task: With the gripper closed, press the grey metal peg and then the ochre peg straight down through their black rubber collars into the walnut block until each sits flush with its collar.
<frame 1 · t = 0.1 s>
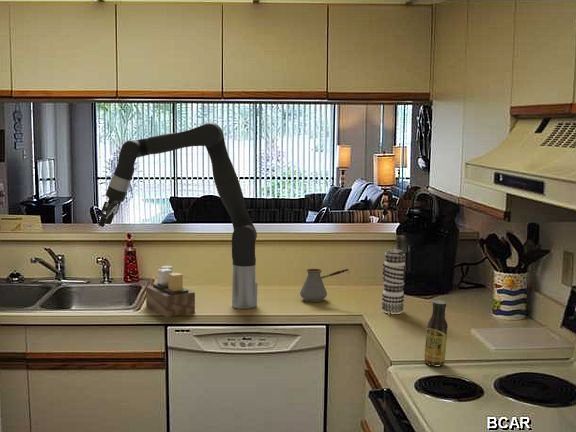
hand: (104, 224, 268), 31 cm above the countertop, tool tilted 20°, fingers open, 8 cm apart
ochre peg: (175, 284, 257), point 11 cm above the countertop, slide at 0.0 cm
walnut block: (170, 309, 262), on the countertop
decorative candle: (392, 312, 266), on the countertop
grey metal peg: (165, 279, 264), point 11 cm above the countertop, slide at 0.0 cm
sauce bottle: (434, 364, 207), on the countertop
supplement bottle: (167, 297, 282), on the countertop
coffee pot: (324, 302, 280), on the countertop
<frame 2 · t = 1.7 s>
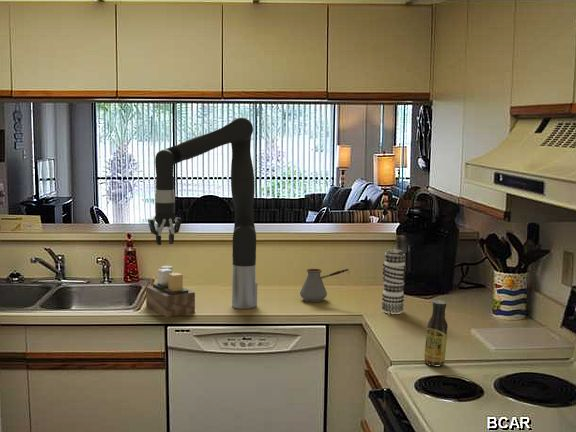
hand: (165, 244, 262), 25 cm above the countertop, tool pointing down, fingers open, 4 cm apart
nothing on the countertop moved.
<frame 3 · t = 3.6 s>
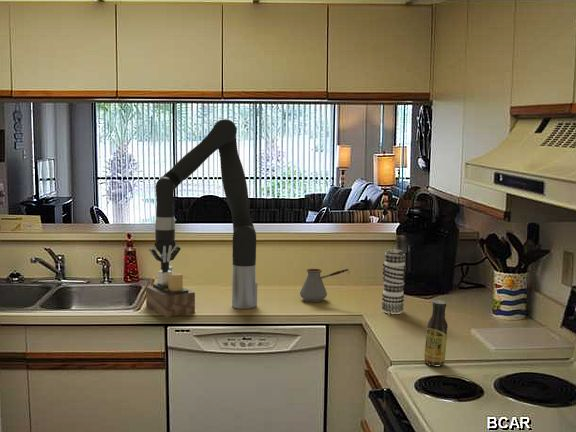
hand: (165, 271, 263), 14 cm above the countertop, tool pointing down, fingers closed
grey metal peg: (165, 281, 264), point 10 cm above the countertop, slide at 0.6 cm, touching gripper
everything else where it was.
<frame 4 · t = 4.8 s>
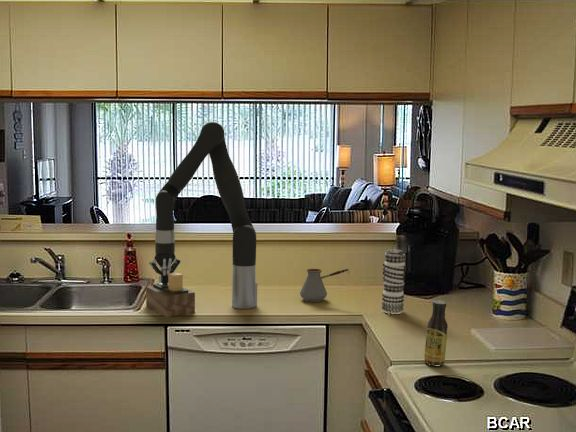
hand: (165, 284, 264), 9 cm above the countertop, tool pointing down, fingers closed
grey metal peg: (165, 294, 265), point 5 cm above the countertop, slide at 5.7 cm, touching gripper
everything else where it was.
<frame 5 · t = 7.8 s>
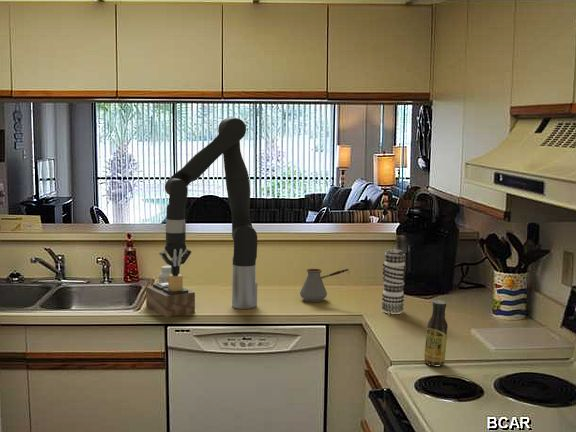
hand: (175, 275, 256), 15 cm above the countertop, tool pointing down, fingers closed
ochre peg: (175, 285, 257), point 11 cm above the countertop, slide at 0.5 cm, touching gripper
grey metal peg: (165, 294, 265), point 5 cm above the countertop, slide at 5.8 cm
everything else where it was.
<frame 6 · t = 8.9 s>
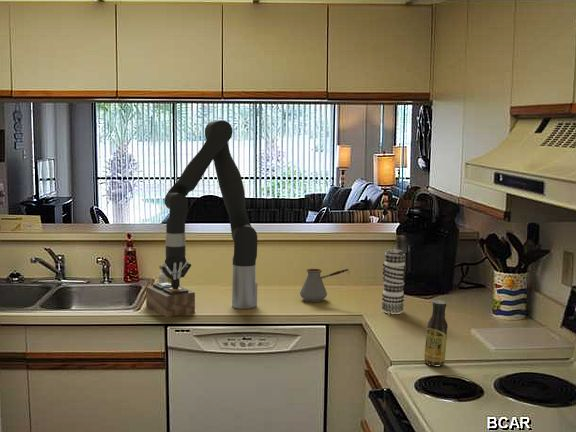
hand: (175, 288, 257), 9 cm above the countertop, tool pointing down, fingers closed
ochre peg: (175, 298, 257), point 5 cm above the countertop, slide at 5.7 cm, touching gripper
everything else where it was.
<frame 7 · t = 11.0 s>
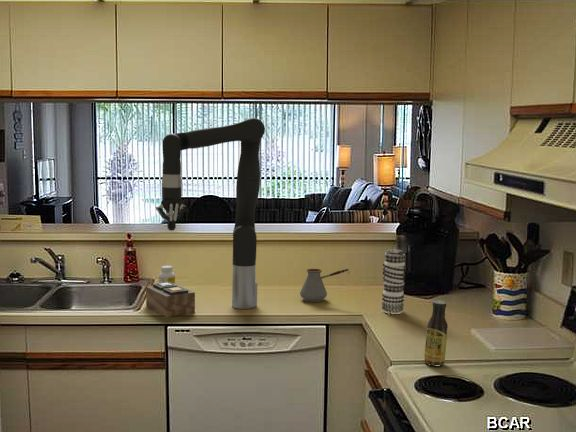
hand: (171, 230, 260), 31 cm above the countertop, tool pointing down, fingers closed
ochre peg: (175, 299, 258), point 5 cm above the countertop, slide at 5.8 cm
everything else where it was.
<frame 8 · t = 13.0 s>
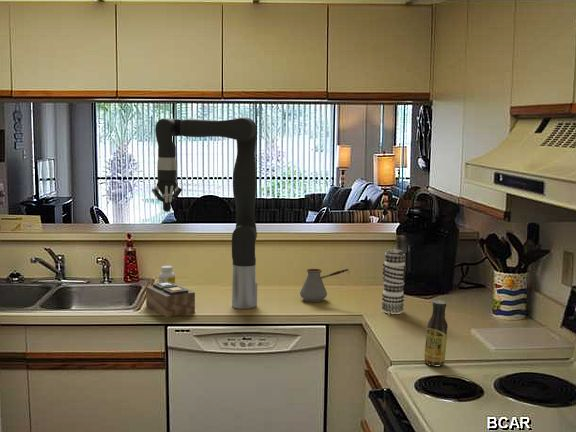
hand: (166, 211, 270), 37 cm above the countertop, tool pointing down, fingers closed
nothing on the countertop moved.
at the end: grey metal peg slide at 5.8 cm; ochre peg slide at 5.8 cm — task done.
